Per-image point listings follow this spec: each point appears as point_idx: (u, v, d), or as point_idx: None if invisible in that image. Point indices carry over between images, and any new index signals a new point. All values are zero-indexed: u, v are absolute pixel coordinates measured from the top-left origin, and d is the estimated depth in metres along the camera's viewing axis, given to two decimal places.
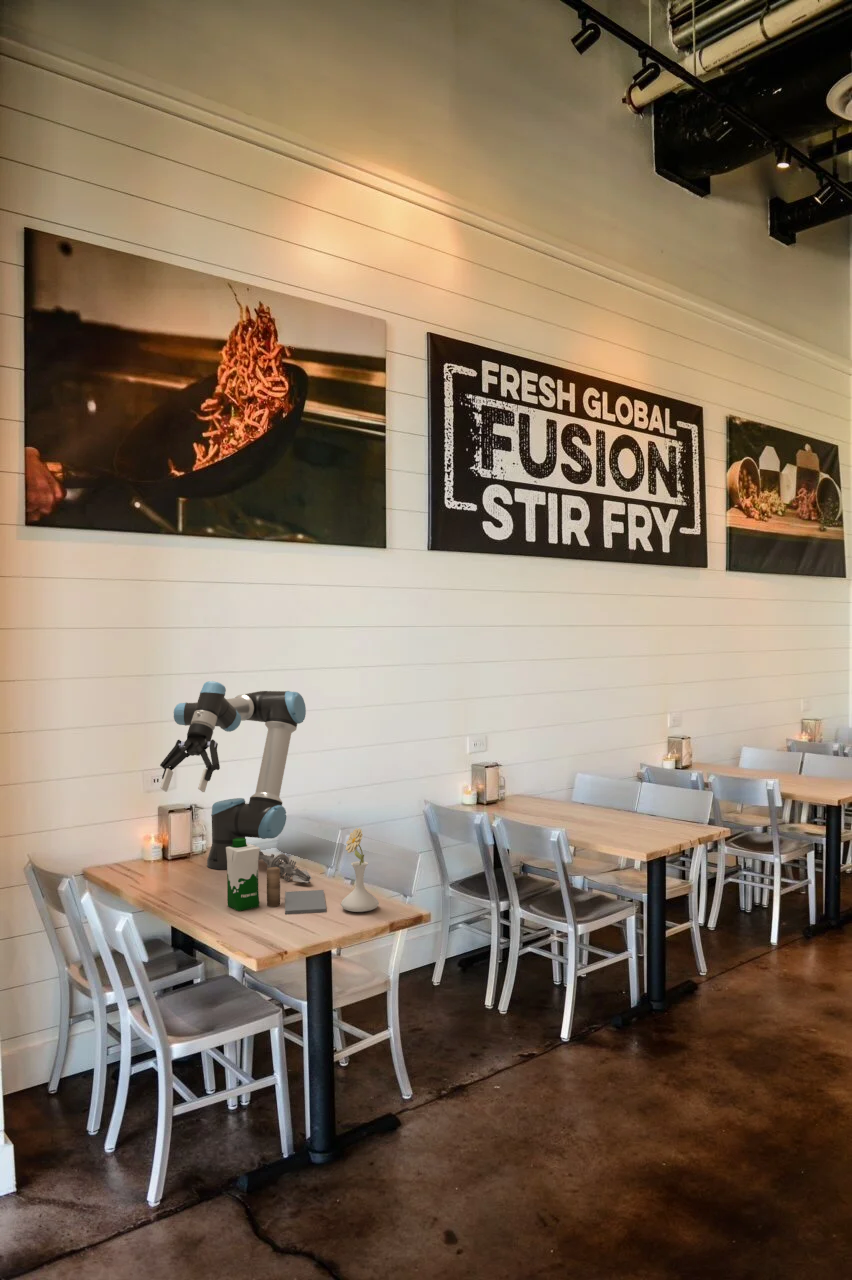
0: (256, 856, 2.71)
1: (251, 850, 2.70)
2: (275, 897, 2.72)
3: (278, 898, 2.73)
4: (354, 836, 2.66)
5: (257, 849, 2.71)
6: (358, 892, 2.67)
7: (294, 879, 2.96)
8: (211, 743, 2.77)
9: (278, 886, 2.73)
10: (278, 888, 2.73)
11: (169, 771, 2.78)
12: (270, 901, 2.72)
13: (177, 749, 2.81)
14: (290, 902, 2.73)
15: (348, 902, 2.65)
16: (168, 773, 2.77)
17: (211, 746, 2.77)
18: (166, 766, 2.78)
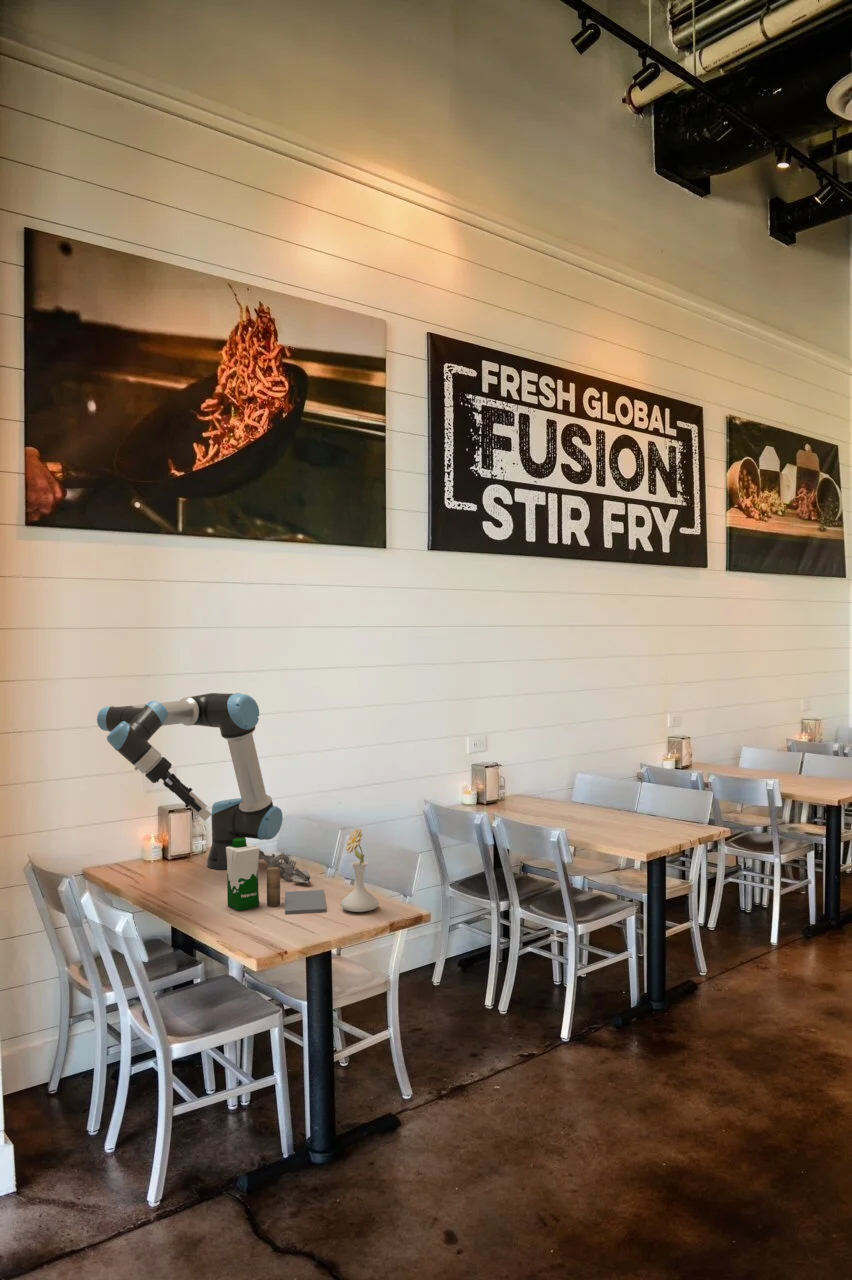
0: (256, 856, 2.71)
1: (251, 850, 2.70)
2: (275, 896, 2.72)
3: (278, 898, 2.73)
4: (354, 836, 2.66)
5: (257, 849, 2.71)
6: (358, 892, 2.67)
7: (294, 879, 2.96)
8: (167, 785, 2.59)
9: (278, 886, 2.73)
10: (278, 888, 2.73)
11: None
12: (270, 901, 2.72)
13: None
14: (290, 902, 2.73)
15: (348, 902, 2.65)
16: None
17: (169, 788, 2.59)
18: None
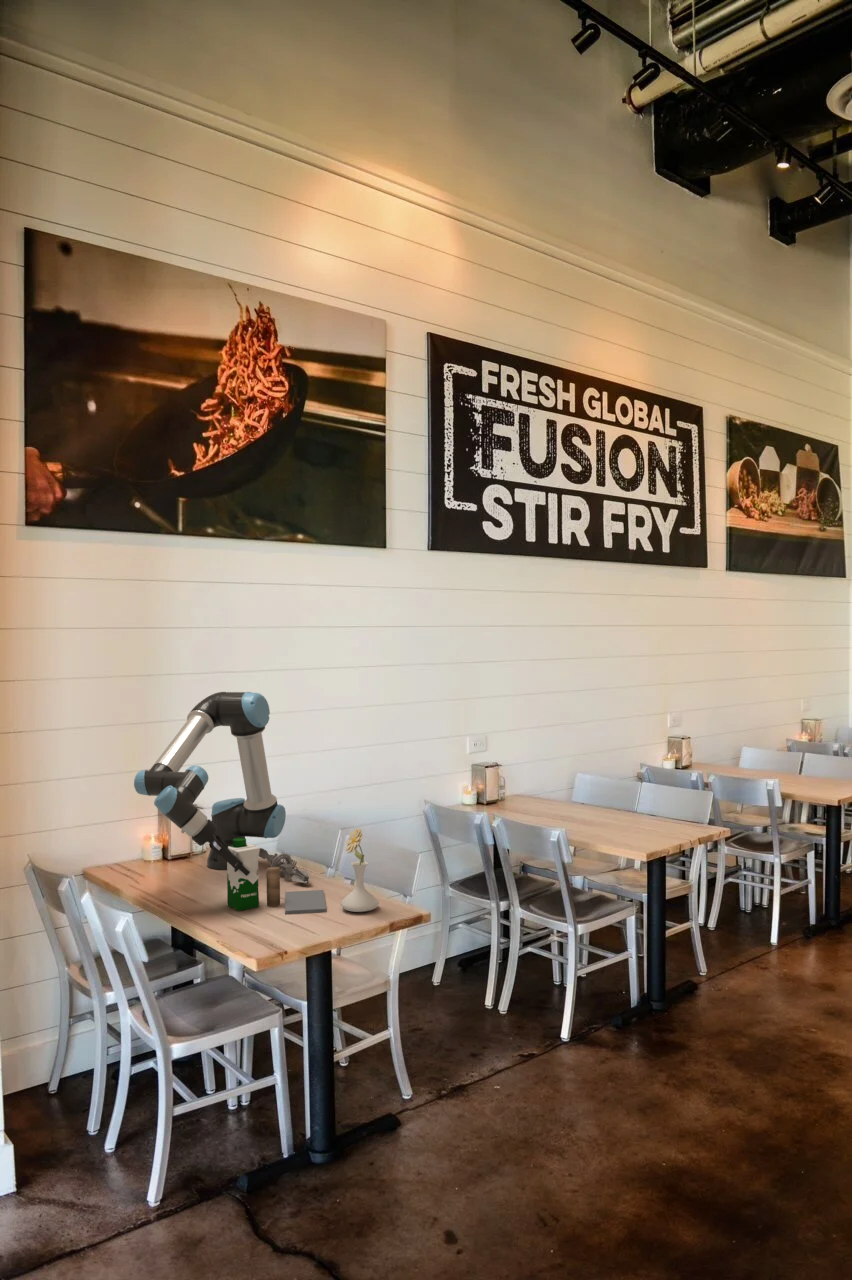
0: (256, 856, 2.71)
1: (251, 850, 2.70)
2: (275, 896, 2.72)
3: (278, 898, 2.73)
4: (354, 836, 2.66)
5: (257, 849, 2.71)
6: (358, 892, 2.67)
7: (293, 879, 2.96)
8: (215, 850, 2.64)
9: (278, 886, 2.73)
10: (278, 888, 2.73)
11: None
12: (270, 901, 2.72)
13: None
14: (290, 902, 2.73)
15: (348, 902, 2.65)
16: None
17: (218, 853, 2.64)
18: None
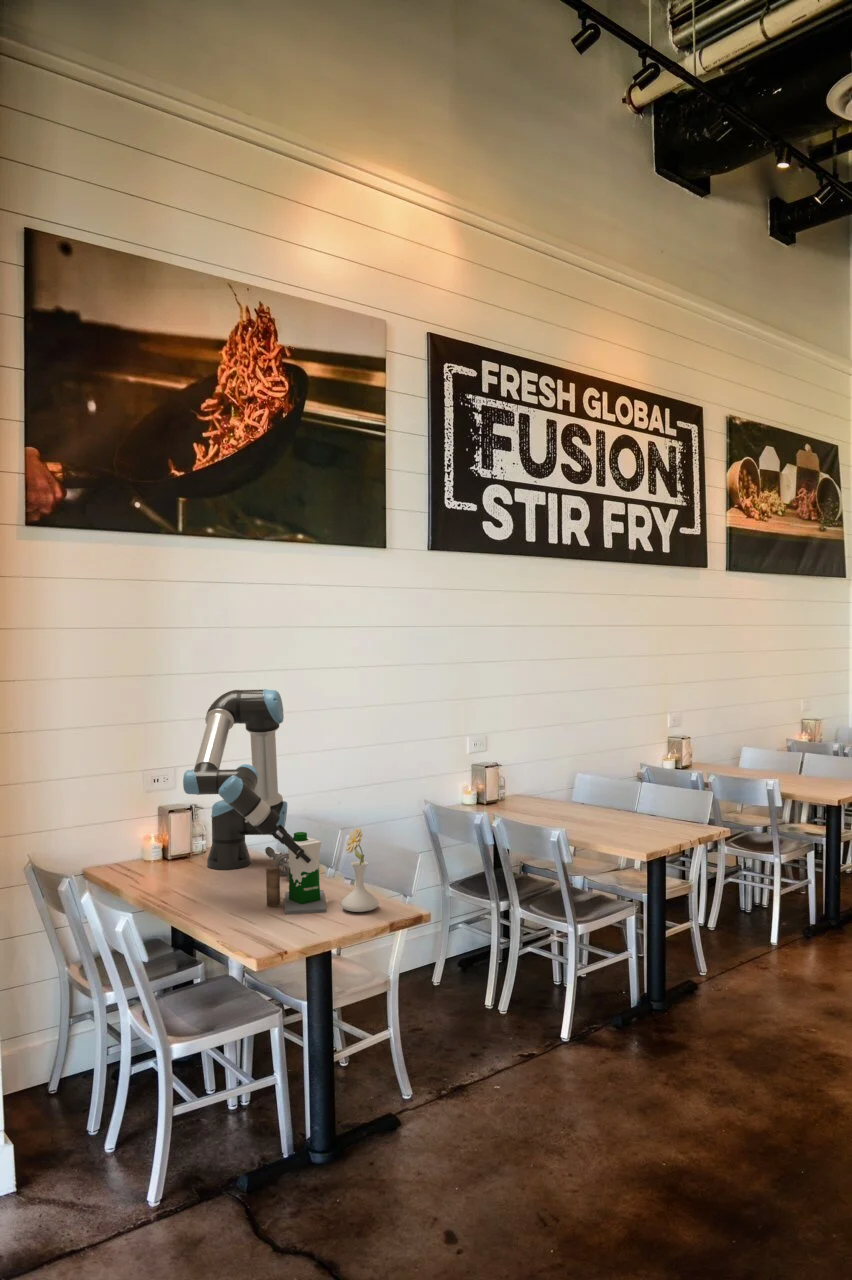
0: (318, 850, 2.74)
1: (313, 844, 2.73)
2: (276, 896, 2.72)
3: (278, 898, 2.73)
4: (354, 836, 2.66)
5: (319, 843, 2.74)
6: (358, 892, 2.67)
7: None
8: (277, 838, 2.66)
9: (278, 886, 2.73)
10: (278, 888, 2.73)
11: None
12: (271, 901, 2.72)
13: None
14: (290, 902, 2.73)
15: (348, 902, 2.65)
16: None
17: (280, 840, 2.66)
18: None
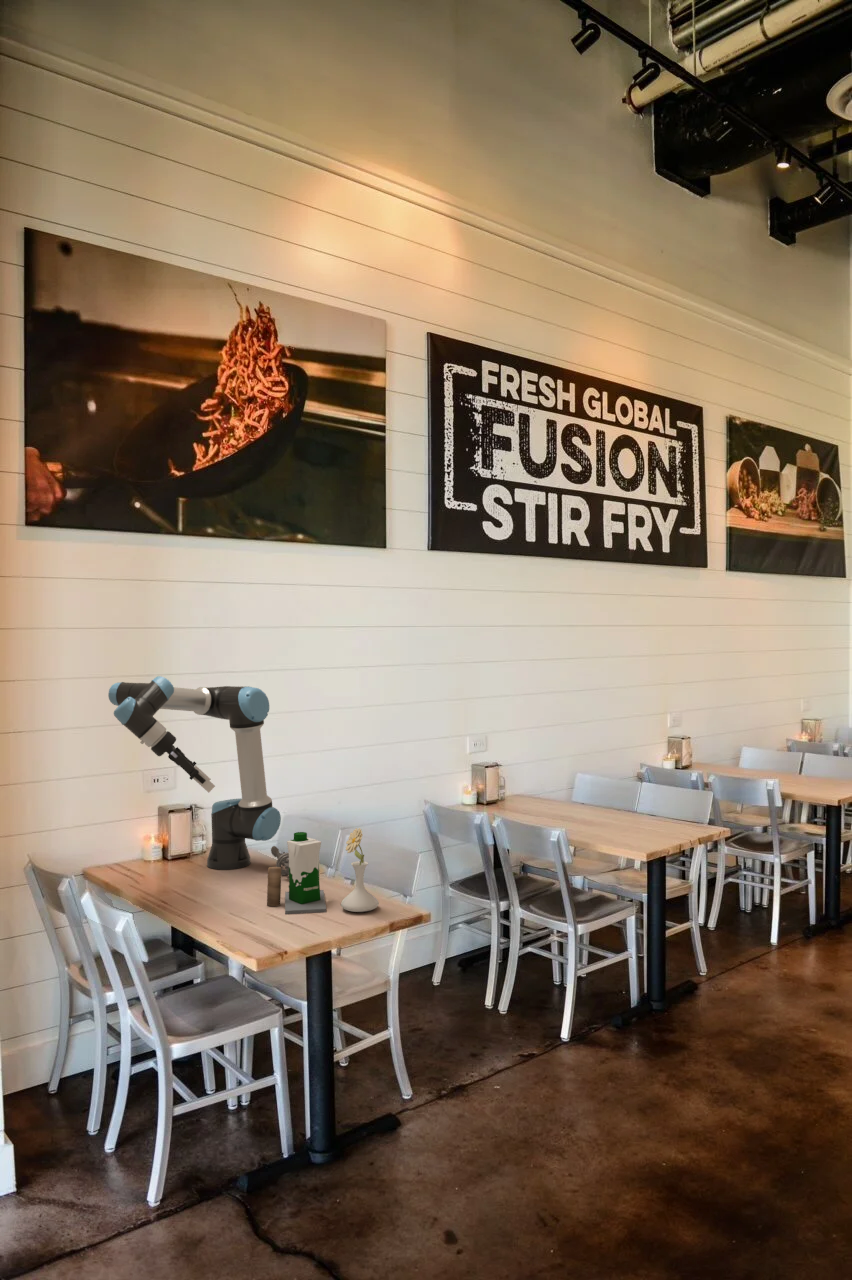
0: (318, 850, 2.74)
1: (313, 844, 2.73)
2: (277, 896, 2.72)
3: (279, 897, 2.73)
4: (354, 836, 2.66)
5: (319, 843, 2.74)
6: (358, 892, 2.67)
7: None
8: (172, 758, 2.68)
9: (280, 885, 2.73)
10: (279, 887, 2.73)
11: None
12: (272, 900, 2.72)
13: None
14: (290, 902, 2.73)
15: (348, 902, 2.65)
16: None
17: (174, 760, 2.68)
18: None
